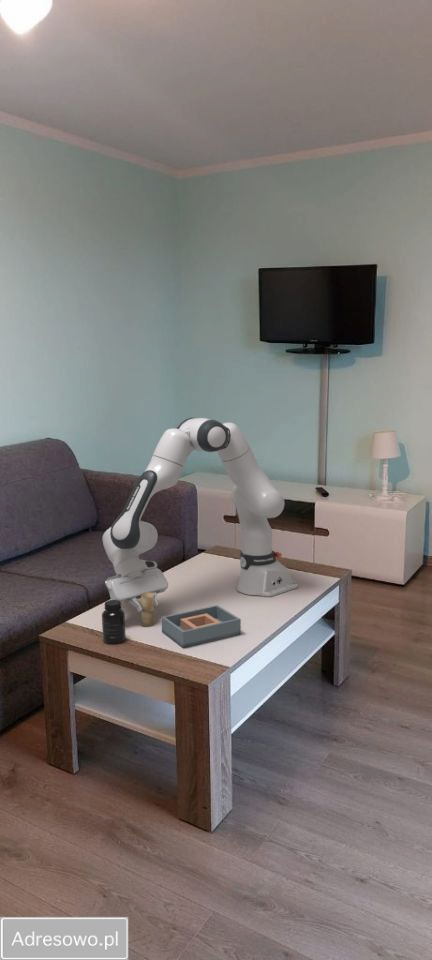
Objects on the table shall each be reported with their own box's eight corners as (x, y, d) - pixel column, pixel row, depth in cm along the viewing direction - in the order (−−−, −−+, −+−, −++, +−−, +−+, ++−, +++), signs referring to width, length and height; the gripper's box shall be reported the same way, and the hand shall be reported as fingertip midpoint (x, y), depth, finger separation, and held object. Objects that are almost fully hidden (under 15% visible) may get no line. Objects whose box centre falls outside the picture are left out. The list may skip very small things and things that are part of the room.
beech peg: (150, 621, 233) (150, 591, 231) (156, 625, 230) (155, 595, 228) (139, 623, 231) (138, 593, 229) (144, 627, 228) (144, 597, 226)
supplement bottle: (105, 635, 222) (103, 598, 220) (127, 635, 222) (126, 598, 220) (100, 644, 215) (99, 606, 213) (123, 644, 215) (122, 606, 213)
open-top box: (217, 619, 234) (217, 604, 233) (240, 634, 222) (240, 619, 221) (161, 632, 224) (161, 616, 223) (182, 648, 213) (182, 632, 212)
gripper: (106, 573, 226) (124, 611, 220) (159, 560, 239) (178, 596, 233) (99, 583, 230) (117, 621, 225) (152, 570, 243) (170, 606, 238)
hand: (148, 608), depth 229 cm, fingers closed on beech peg, 4 cm apart
